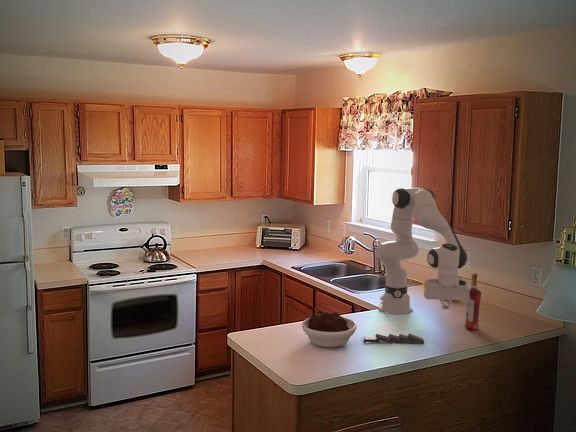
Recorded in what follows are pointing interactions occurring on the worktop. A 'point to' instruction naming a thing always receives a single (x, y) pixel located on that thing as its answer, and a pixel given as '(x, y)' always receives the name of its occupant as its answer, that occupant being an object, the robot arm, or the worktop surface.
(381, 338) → the domino
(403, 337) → the domino
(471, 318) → the liquor
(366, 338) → the domino
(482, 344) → the worktop surface
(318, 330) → the bowl of chocolate
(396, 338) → the domino
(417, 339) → the domino
